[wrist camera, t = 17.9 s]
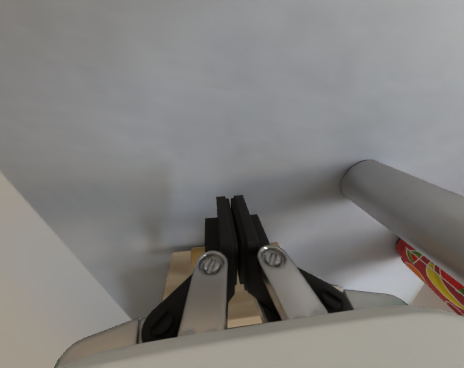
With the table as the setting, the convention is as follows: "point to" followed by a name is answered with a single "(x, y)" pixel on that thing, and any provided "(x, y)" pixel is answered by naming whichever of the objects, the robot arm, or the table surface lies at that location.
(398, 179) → the spice tin
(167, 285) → the drawer
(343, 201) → the table surface
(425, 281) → the smoothie
